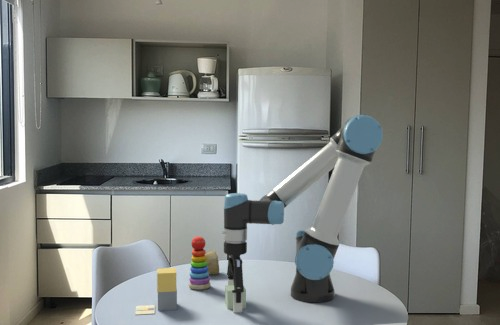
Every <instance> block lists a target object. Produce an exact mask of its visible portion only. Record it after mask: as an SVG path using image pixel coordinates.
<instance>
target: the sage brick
mask: <svg viewBox="0 0 500 325" xmlns="http://www.w3.org/2000/svg"><path fill="white" fill-rule="evenodd" d="M224 287H225V292H224V293H225V294H224V299H225V300H224V303H225V306H226V308H227V310H233V300H234V293H232V290H234V285H228V284H227V285H225V286H224ZM243 289H244V292H242V309H246V308H247V289H246V287H245V285H243Z"/></svg>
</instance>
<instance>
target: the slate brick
mask: <svg viewBox="0 0 500 325" xmlns="http://www.w3.org/2000/svg"><path fill="white" fill-rule="evenodd" d="M176 309H178V289H177V287H176V291H173V292H157V311H158V310H159V311H173V310H174V311H175V310H176ZM176 311H177V310H176Z"/></svg>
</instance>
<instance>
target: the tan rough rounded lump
mask: <svg viewBox="0 0 500 325" xmlns="http://www.w3.org/2000/svg"><path fill="white" fill-rule="evenodd" d="M205 255H206V257H207V259H206V261H207V266H208V272H209V276H212V275H213V276H214V275H220V265H219V264H220V263H219V262H220V260H219V257H218V254H217V251H216V250H211V251H209V252H206V253H205Z"/></svg>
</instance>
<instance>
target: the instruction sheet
mask: <svg viewBox="0 0 500 325" xmlns="http://www.w3.org/2000/svg"><path fill="white" fill-rule="evenodd" d="M155 313H156V305H155V304H151V305H147V304H146V305H136V306H135V312H134V315H135V316H137V315H138V316H139V315H140V316H142V315H144V316H145V315H155Z"/></svg>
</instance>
